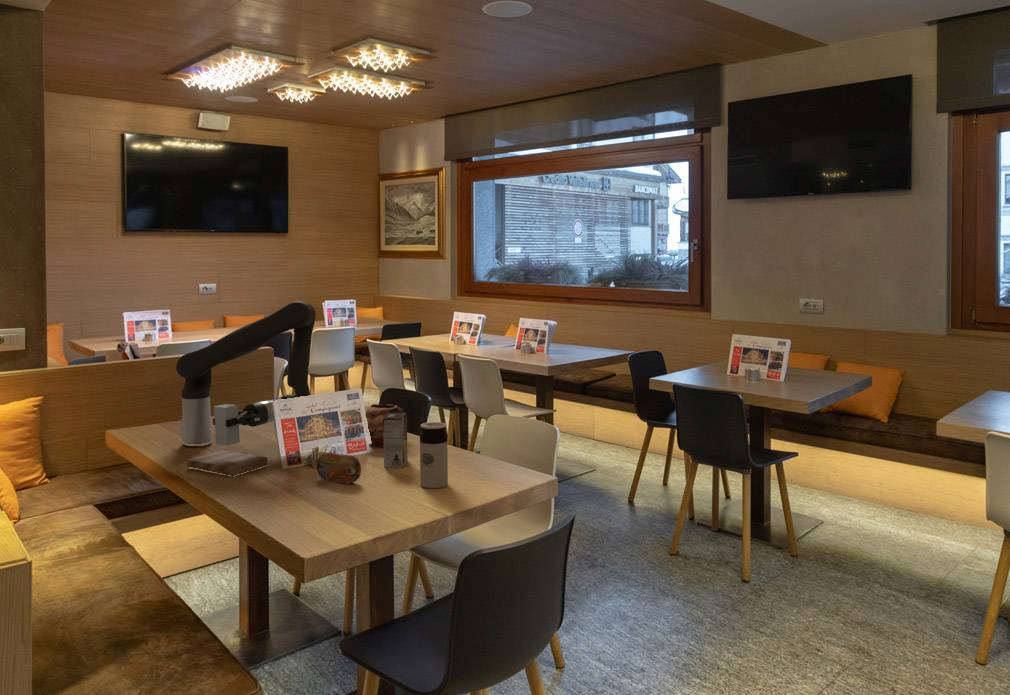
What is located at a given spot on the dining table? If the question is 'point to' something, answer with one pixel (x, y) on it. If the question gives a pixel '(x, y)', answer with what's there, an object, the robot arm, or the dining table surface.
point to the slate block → (221, 431)
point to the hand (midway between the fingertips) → (220, 422)
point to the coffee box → (395, 440)
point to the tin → (338, 468)
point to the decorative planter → (379, 421)
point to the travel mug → (433, 455)
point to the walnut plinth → (228, 462)
